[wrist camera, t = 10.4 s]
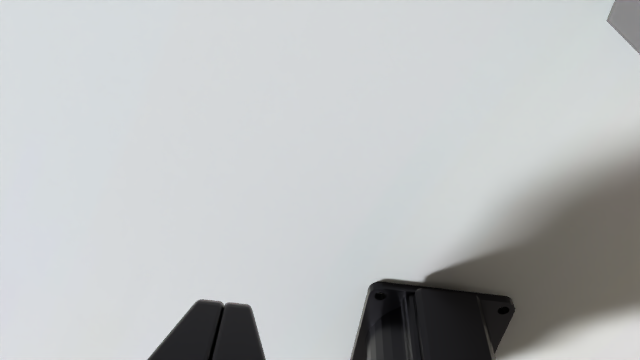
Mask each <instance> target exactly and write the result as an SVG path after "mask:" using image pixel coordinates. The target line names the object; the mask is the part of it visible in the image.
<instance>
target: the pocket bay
mask: <svg viewBox="0 0 640 360" xmlns="http://www.w3.org/2000/svg"><path fill="white" fill-rule="evenodd" d="M607 22H608V23H609V24H610V25H611V26H612V27H613V28H614V29H615V30H616V31H617V32H618V33H619V34H620V35H621V36H622V37H623V38H624V39H625V40H626V41H627V42H628V43H629V44H630V45H631V46H632V47H633V48H634V49H635V50H636V51H637V52H638V53H639V54H640V0H615V2H614V5H613V7H612V9H611V12H610V14H609V16H608V19H607Z"/></svg>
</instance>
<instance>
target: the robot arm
mask: <svg viewBox="0 0 640 360" xmlns="http://www.w3.org/2000/svg"><path fill="white" fill-rule="evenodd" d="M378 292H382V294H377V293H378ZM500 307H503V308H500ZM514 312H515V307H514V304H513V301H512V299H511V298H509V297H506V296H500V295H491V294H482V293H474V292H465V291H457V290H448V289H439V288H431V287H422V286H414V285H405V284H396V283H388V282H375V283H373V284H371V285H370V286H369V288H368V292H367V296H366V300H365V304H364V308H363V312H362V315H361V319H360V323H359V327H358V331H357V335H356V339H355V343H354V347H353V351H352V355H351V359H350V360H496V359H495V355H494V354H495V351H496V349H497V347H498V345H499V343H500V341H501V339H502V337H503V335H504V333H505V331H506V329H507V326H508V324H509V322H510V320H511V318H512V316H513V314H514ZM148 360H266V359H265V356H264V352H263V348H262V344H261V341H260V337H259V333H258V330H257V326H256V322H255V318H254V315H253V311H252V308H251V307H250V306H249V305H247V304H239V303H230V302H229V303H226V304H225V306H224V304H223V303H222V302H220V301H212V300H204V299H202V300H198V301H197V302H196V303H195V304H194V305H193V306H192V307H191V308H190V309H189V311H188V312H187V313H186V314H185V315H184V317H183V318H182V319H181V320H180V321H179V323H178V324H177V325H176V326H175V327H174V329H173V330H172V331H171V332H170V333H169V334H168V336H167V337H166V338H165V339H164V340H163V342H162V343H161V344H160V345H159V346H158V348H157V349H156V350H155V351H154V352H153V354H152V355H151V356H150V357H149V358H148Z"/></svg>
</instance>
